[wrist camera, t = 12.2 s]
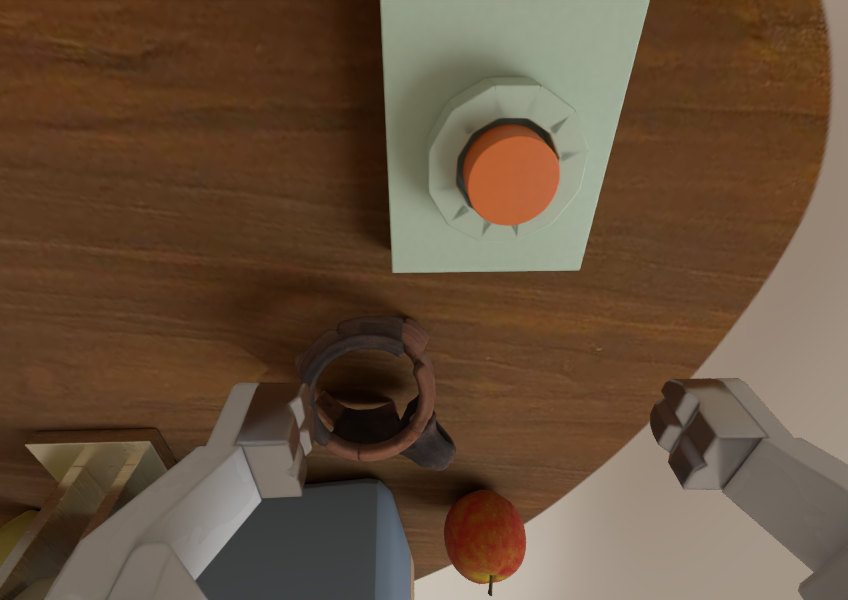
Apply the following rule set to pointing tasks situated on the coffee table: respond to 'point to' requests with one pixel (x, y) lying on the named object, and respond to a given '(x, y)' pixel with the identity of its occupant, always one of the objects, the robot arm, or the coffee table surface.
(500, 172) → the button
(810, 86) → the coffee table surface
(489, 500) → the fruit
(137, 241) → the coffee table surface
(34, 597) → the lever
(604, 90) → the button block
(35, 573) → the bracket
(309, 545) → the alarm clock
